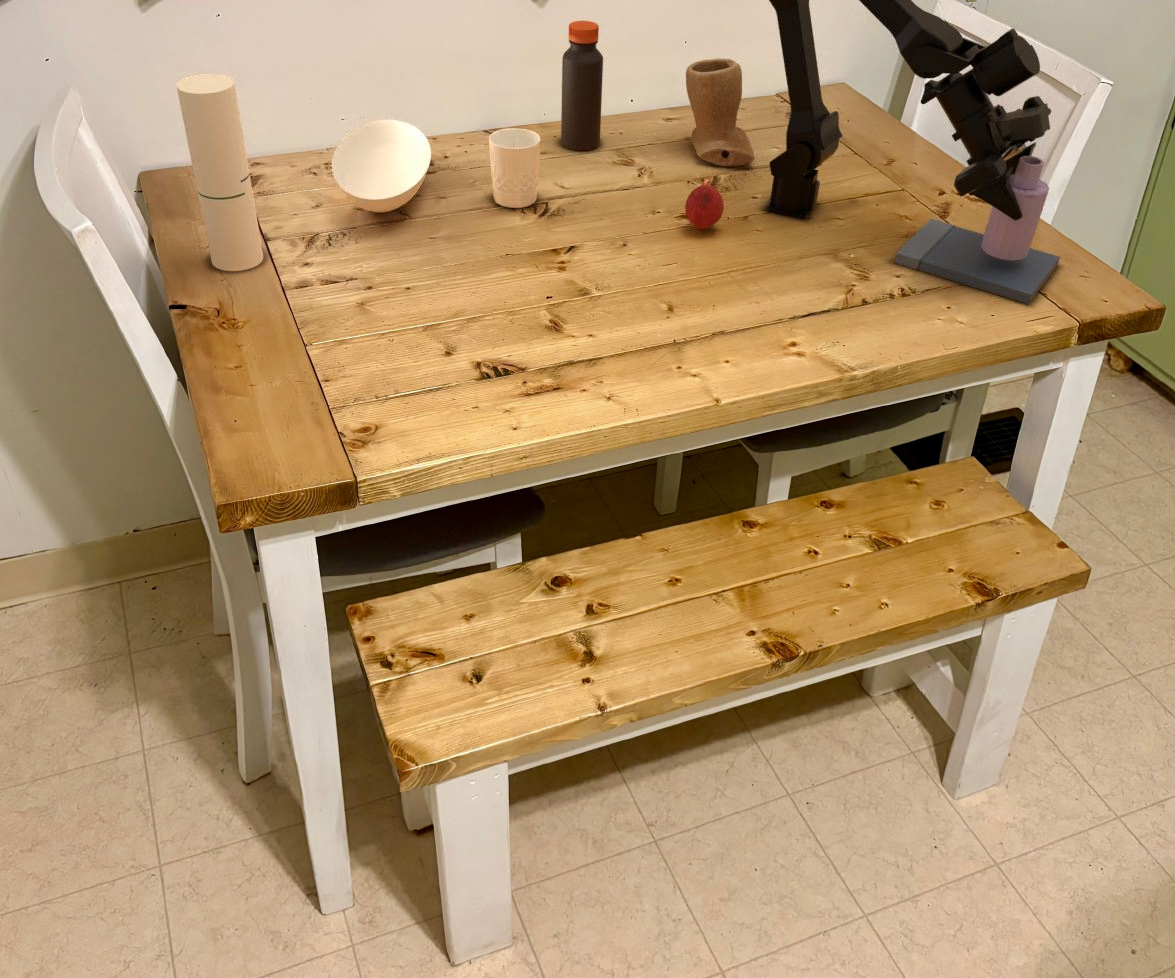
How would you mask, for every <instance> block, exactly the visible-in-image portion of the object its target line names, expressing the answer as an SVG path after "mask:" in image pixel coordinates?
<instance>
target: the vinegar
mask: <svg viewBox="0 0 1175 978" xmlns="http://www.w3.org/2000/svg"><path fill="white" fill-rule="evenodd" d="M599 29H600V26H599V24H598V23H596V22H594V21H591V20H575V21H572V22H570V23H569V24H568V43H569V45H570V47H568V48H567V50H565V52H564V53H563V55H562V62H561V64H562V65H561V66H562V67H561V117H560V118H561V119H560V120H561V122H560V129H561V130H560V142H561V144H562V146H563V147H565V148H567V149H569V150H573V151H584V152H585V151H591V150H593V149H596V148H597V147H598V146H599V145H600V143H601V124H602V103H603V102H602V100H603V99H602V97H603V77H604V76H603V75H604V73H603V72H604V56H603V54H602V53H601V51H600V50H599V49H598V48H597V44H598V43H599V34H600V33H599V31H600V30H599Z"/></svg>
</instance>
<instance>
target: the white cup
mask: <svg viewBox="0 0 1175 978" xmlns="http://www.w3.org/2000/svg"><path fill="white" fill-rule="evenodd" d="M488 145H489V147H488V148H489V160H490V172H491V173H490V174H491V183H492V192H493V199H494V201H495V203H496V204H497V205H499V206H502V207H505V208H509V209H521V208H525V207H529V206H531V205H533V204H535V203H536V201H537V198H538V197H537V196H538V183H539V173H540V158H541V157H540V156H541V136H540V134H538V133H537V132H535V131H533V130H530V129H526V128H519V127H518V128H517V127H516V128H515V127H510V128H503V129H502V128H501V129H498V130H496V131H495V130H494V131H493V132H491V134H489V136H488Z"/></svg>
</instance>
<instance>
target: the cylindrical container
mask: <svg viewBox="0 0 1175 978" xmlns="http://www.w3.org/2000/svg"><path fill="white" fill-rule="evenodd" d="M175 86H176V91H177V96H178V101H179V105H180V111H181V115H182V121H183V125H184V132H185V136H186V142H187V146H188V151H189V156H190V161H191V162H190V163H191V166H192V172H193V176H194V180H195V187H196V192H197V196H198V201H199V206H200V211H201V216H202V221H203V226H204V230H205V236H206V241H207V246H208V250H209V256H210V261H211V264H212V266H213V267H214V268H216V269H218V270H221V271H226V272H240V271H241V272H242V271H246V270H250V269H253V268H255V267H257V266H259V265H260V264H261V263H262V262H263V260H264V252H263V246H262V241H261V235H260V229H259V222H258V217H257V211H256V210H257V209H256V205H255V199H254V194H253V193H254V192H253V186H252V180H251V174H250V168H249V162H248V157H247V151H246V150H247V149H246V145H245V139H244V132H243V125H242V121H241V114H240V108H239V102H238V97H237V92H236V85H235V80H234V79H233V78H232V77H230V76H228V75H225V74H219V73H200V74H194V75H190V76H186V77H183V78H181V79H180V80H178V81H177V82H176V85H175Z"/></svg>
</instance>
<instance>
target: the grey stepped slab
mask: <svg viewBox="0 0 1175 978" xmlns="http://www.w3.org/2000/svg"><path fill="white" fill-rule="evenodd" d="M983 237H984V233H980V232H977V231H974V230H971V229H967V228H963V227H960V226H956V225H955V224H951V223H948V222H945V221H941V220H938V219H934V218H930V220H928V221H927V222H926V223H925V224H924V225H923V226H922V227H921V228H920V229H919V230H918V231H917V232H916V233H915V234H914V235H913V236H912V237H911V238H910V239H909V240H908V241H907V242H906V243H905V244H904V245H903V246H902V247H901V248H900V249H899V250H898V251H897V252H896V253H895V258H894V263H895V264H897V265H900V266H903V267H907V268H911V269H913V270H915V271H916V270H917V271H920V272H923V273H927V274H930V275H933V276H935V277H939V278H943V279H946V280H949V281H952V282H955V283H959V284H961V285H965V286H968V287H971V288H975V289H977V290H980V291H984V292H988V293H990V294H994V295H997V296H1000V297H1003V298H1007V299H1009V300H1013V301H1016V302H1019V303H1022V304H1026V305H1030V303H1031V302H1032V300H1033V299H1034V297H1035V296H1036V295H1037V294H1038V292H1039V291H1040V290H1041V288H1042V287H1043V286H1044V284H1045V283H1046V282H1047V281H1048V279H1049V278H1050V276H1051V275H1052V274H1053V273H1054V271H1055V270H1056V269H1057V267H1058V265H1059V262H1060V259H1061V256H1059V255H1056V254H1052V253H1049V252H1044V251H1042V250H1038V249H1035V248H1031V247H1030V250H1029V253H1028V255H1027V257H1025V258H1024V259H1021V260H1004V259H999V258H996V257H993V256H991V255H989V254H987V253H986V252H985V251H984V250H983V249H982V247H981V244H982V240H983Z"/></svg>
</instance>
